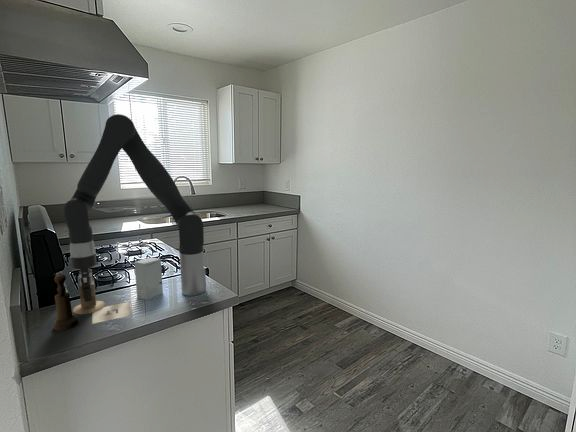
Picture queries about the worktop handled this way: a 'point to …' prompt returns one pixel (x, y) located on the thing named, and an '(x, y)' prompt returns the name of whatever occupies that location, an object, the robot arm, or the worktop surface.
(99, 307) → the cork coaster
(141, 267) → the skincare box
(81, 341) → the worktop surface
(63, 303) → the brown tall tapered piece
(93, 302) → the walnut block
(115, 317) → the tile
